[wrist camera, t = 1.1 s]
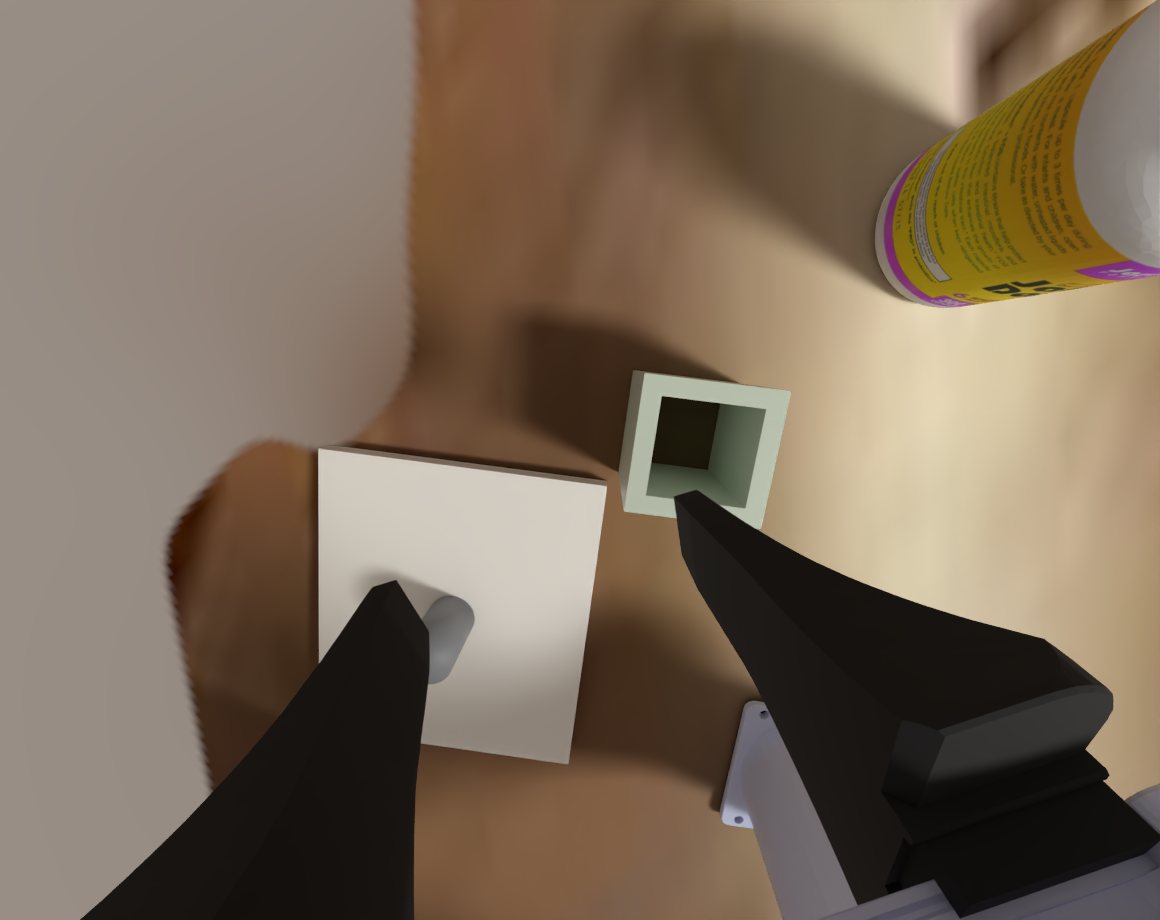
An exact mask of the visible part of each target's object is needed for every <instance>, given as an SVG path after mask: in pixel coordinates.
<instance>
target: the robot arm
mask: <svg viewBox="0 0 1160 920" xmlns="http://www.w3.org/2000/svg"><path fill="white" fill-rule="evenodd" d="M674 503H675V510H676V517H677V524H678V531H679V538H680V545H681V552H682V556H683V558H684V560H685V563H686V565H687V567H688V569H689V571H690V574H691V576H692V578H693V580H694V582H695V584H696V586H697V588H698V590H699V592H700V593H701V595H702V597H703V598H704V600H705V602H706V603H707V605H708V607H709V608H710V610H711V611H712V613H713V615H714V616H715V618H716V620H717V621H718V623H719V624H720V626H721V628H722V629H723V631H724V633H725V634H726V636H727V637H728V639H729V641H730V642H731V644H732V645H733V647H734V649H735V650H736V652H737V654H738V655H739V657H740V658H741V660H742V662H743V663H744V665H745V667H746V669H747V670H748V672H749V674H750V676H751V677H752V679H753V681H754V683H755V685H756V687H757V689H758V691H759V693H760V695H761V697H762V699H763V701H764V702H760V701H750V702H748V703H746V704H745V706H744V709H743V713H742V717H741V722H740V726H739V730H738V735H737V739H736V743H735V748H734V752H733V756H732V760H731V765H730V769H729V773H728V778H727V782H726V786H725V791H724V795H723V799H722V803H721V808H720V817H721V820H722V822H723V823H724V824H727V825H732V826H739V827H746V828H753V829H754V832H755V835H756V838H757V841H758V844H759V847H760V850H761V853H762V857H763V860H764V863H765V866H766V869H767V872H768V875H769V878H770V881H771V884H772V887H773V891H774V894H775V897H776V900H777V903H778V906H779V909H780V912H781V915H782V918H783V920H1160V784H1157V785H1154V786H1152V787H1149V788H1147V789H1144V790H1142V791H1139V792H1137V793H1136V794H1134V795H1132V796H1130V797H1129V798H1127V799H1126V800H1125V801H1124V800H1123V799H1122V798H1121V797H1120V796H1118V795H1117V794H1116V793H1115V792H1114V791H1113V790H1112V789H1111V788H1110V787H1109V786H1108V785H1107V784H1106V783H1105V782H1104V781H1103V780H1106V779H1107V778H1108V777H1109V773H1108V771H1107V769H1106V768H1105V767H1104V766H1103V765H1101V764H1100V763H1099V762H1098V761H1097V760H1096V759H1095V758H1094V757H1093V756H1092V755H1091V754H1090V753H1088V752H1087V751H1086V750H1085V749H1086V747H1087V746H1088V745H1089V743H1090V742H1091V741H1092V739H1093V738H1094V737H1095V735H1096V734H1097V733H1098V731H1099V730H1100V729H1101V727H1102V726H1103V725H1104V723H1105V722H1106V721H1107V719H1108V717H1109V715H1110V714H1111V712H1112V710H1113V694H1112V693H1111V692H1110V690H1109V689H1108V688H1107V687H1106V686H1104V685H1103V684H1102V683H1101V682H1099V681H1098V680H1097V679H1096V678H1094V677H1093V676H1092V675H1091V674H1089V673H1088V672H1087V671H1086V670H1084V669H1083V668H1082V667H1081V666H1079V665H1078V664H1077V663H1076V662H1074V661H1073V660H1072V659H1070V658H1069V657H1068V656H1066V655H1065V654H1064V653H1062V652H1061V651H1060V650H1058V649H1057V648H1056V647H1054V646H1053V645H1052V644H1050V643H1049V642H1047V641H1046V640H1045V639H1042V638H1038V637H1034V636H1031V635H1027V634H1023V633H1019V632H1015V631H1011V630H1008V629H1004V628H1000V627H996V626H992V625H988V624H985V623H981V622H977V621H973V620H970V619H966V618H963V617H959V616H956V615H953V614H950V613H947V612H943V611H940V610H937V609H934V608H931V607H927V606H924V605H921V604H918V603H915V602H913V601H910V600H907V599H904V598H901V597H898V596H896V595H893V594H890V593H888V592H885V591H882V590H880V589H877V588H874V587H872V586H869V585H867V584H864V583H862V582H859V581H857V580H854V579H852V578H849V577H847V576H845V575H843V574H840V573H838V572H836V571H834V570H832V569H829V568H827V567H825V566H823V565H821V564H819V563H816V562H814V561H812V560H810V559H808V558H806V557H805V556H803V555H801V554H799V553H797V552H795V551H793V550H791V549H790V548H788V547H786V546H784V545H782V544H781V543H779V542H777V541H775V540H774V539H772V538H770V537H768V536H767V535H765V534H764V533H762V532H760V531H759V530H757V529H755V528H754V527H752V526H751V525H749V524H747V523H746V522H744V521H743V520H741V519H740V518H738V517H736V516H735V515H733V514H732V513H730V512H729V511H727V510H726V509H724V508H723V507H722V506H720V505H719V504H717V503H716V502H714V501H713V500H711V499H710V498H709V497H707V496H706V495H704V494H703V493H701V492H700V491H698V490H693V491H690V492H687V493H683V494H680V495H677V496H674ZM429 672H430V644H429V630H428V629H427V627H426V626H425V624H424V623H423V621H422V619H421V618H420V616H419V615H418V613H417V611H416V610H415V608H414V607H413V605H412V604H411V602H410V600H409V599H408V597H407V596H406V594H405V592H404V591H403V589H402V588H401V586H400V585H399V583H398V581H397V580H394V581H390V582H387V583H384V584H381V585H377V586H374V587H372V588H371V590H370V591H369V592H368V594H367V595H366V596H365V598H364V599H363V601H362V602H361V604H360V605H359V606H358V608H357V609H356V611H355V612H354V614H353V615H352V617H351V618H350V620H349V621H348V623H347V624H346V626H345V627H344V628H343V630H342V631H341V633H340V634H339V636H338V637H337V639H336V640H335V642H334V643H333V644H332V646H331V647H330V649H329V650H328V652H327V653H326V654H325V656H324V657H323V659H322V660H321V662H320V663H319V665H318V666H317V667H316V669H315V670H314V671H313V673H312V674H311V675H310V677H309V678H308V679H307V681H306V682H305V683H304V685H303V686H302V687H301V689H300V690H299V691H298V693H297V694H296V695H295V697H294V698H293V699H292V701H291V702H290V703H289V705H288V706H287V707H286V709H285V710H284V711H283V712H282V714H281V715H280V716H279V717H278V719H277V720H276V721H275V722H274V724H273V725H272V726H271V727H270V728H269V730H268V731H267V732H266V733H265V735H264V736H263V737H262V738H261V739H260V740H259V742H258V743H257V744H256V745H255V746H254V747H253V748H252V750H251V751H250V752H249V753H248V754H247V755H246V757H245V758H244V759H243V760H242V761H241V762H240V763H239V765H238V766H237V767H236V768H235V769H234V770H233V771H232V772H231V773H230V774H229V775H228V776H227V778H226V779H225V780H224V781H223V782H222V783H221V784H220V785H219V786H218V787H217V788H216V789H215V790H214V791H213V792H212V793H211V794H210V796H209V797H208V798H207V799H206V800H205V801H204V802H203V803H202V804H201V805H200V806H199V807H198V808H197V809H196V810H195V811H194V812H193V814H192V815H191V816H190V817H189V818H188V819H187V820H186V821H185V822H184V823H183V824H182V825H181V826H180V827H179V828H178V829H177V830H176V831H175V832H174V833H173V834H172V835H171V836H170V837H169V838H168V839H167V840H166V841H165V842H164V843H163V844H162V845H161V846H160V847H158V848H157V849H156V850H155V851H154V852H153V853H152V854H151V855H150V856H149V857H148V858H147V859H146V860H145V861H144V862H143V863H142V864H141V865H140V866H139V867H138V868H136V869H135V870H134V871H133V872H132V873H131V874H130V875H129V876H128V877H127V878H126V879H125V880H124V881H123V882H122V883H121V884H119V886H117V887H116V888H115V889H114V890H113V891H112V892H111V893H110V894H109V895H108V896H106V897H105V898H104V899H103V900H102V901H101V902H100V903H99V904H97V905H96V906H95V907H94V908H93V909H92V910H91V911H89V912H88V913H87V914H86V915H85V916H84V917H83V918H82V919H80V920H414V823H415V792H416V779H417V768H418V760H419V752H420V745H421V737H422V729H423V721H424V714H425V706H426V698H427V689H428V681H429ZM762 711H766V712H765V713H762V714H761V713H760V712H762ZM737 816H739V817H737Z"/></svg>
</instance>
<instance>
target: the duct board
mask: <svg viewBox="0 0 1160 920" xmlns="http://www.w3.org/2000/svg"><path fill="white" fill-rule="evenodd" d="M606 491H607V481H604V480H597V479H589V478H581V477H574V476H566V475H558V474H551V473H543V472H535V471H528V470H520V469H512V468H504V467H497V466H489V465H481V464H474V463H466V462H458V461H451V460H443V459H435V458H428V457H420V456H412V455H404V454H397V453H389V452H381V451H374V450H366V449H358V448H351V447H343V446H335V445H328V446H325V447H322V448H319V449H318V515H319V663H320V662H321V660H322V659H323V657H324V656H325V654H326V653H327V652H328V650H329V649H330V647H331V646H332V644H333V643H334V642H335V640H336V639H337V637H338V636H339V634H340V633H341V631H342V630H343V628H344V627H345V626H346V624H347V623H348V621H349V620H350V618H351V617H352V615H353V614H354V612H355V611H356V609H357V608H358V606H359V605H360V604H361V602H362V601H363V599H364V598H365V596H366V595H367V594H368V592H369V591H370V590H371V588H372V587H374V586H377V585H381V584H384V583H387V582H390V581H394V580H397V581H398V583H399V585H400V586H401V588H402V589H403V591H404V592H405V594H406V596H407V597H408V599H409V600H410V602H411V604H412V605H413V607H414V608H415V610H416V611H417V613H418V615H419V616H420V618H421V619H422V621H423V623H424V624H425V626H426V627H427V629H428V630H429V644H430V672H429V681H428V689H427V698H426V706H425V714H424V721H423V729H422V737H421V743H423V744H429V745H436V746H443V747H450V748H457V749H464V750H471V751H478V752H485V753H492V754H499V755H506V756H513V757H520V758H527V759H534V760H541V761H548V762H555V763H562V764H568V763H569V756H570V749H571V742H572V734H573V727H574V720H575V713H576V706H577V699H578V691H579V684H580V677H581V670H582V663H583V656H584V648H585V641H586V634H587V627H588V620H589V613H590V605H591V598H592V591H593V584H594V577H595V570H596V562H597V555H598V548H599V541H600V534H601V527H602V519H603V512H604V505H605V498H606Z"/></svg>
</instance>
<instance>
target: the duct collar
mask: <svg viewBox="0 0 1160 920" xmlns="http://www.w3.org/2000/svg"><path fill="white" fill-rule="evenodd" d="M790 395H791V391H787V390H781V389H774V388H768V387H761V386H754V385H748V384H741V383H734V382H726V381H718V380H710V379H702V378H694V377H686V376H678V375H670V374H662V373H654V372H646V371H638V370H633V374H632V381H631V388H630V395H629V402H628V409H627V416H626V423H625V430H624V436H623V443H622V450H621V457H620V464H619V471H618V474H619V481H620V487H621V494H622V501H623V508H624V511H625V512H633V513H640V514H648V515H656V516H663V517H671V518H677V517H676V510H675V503H674V496H677V495H680V494H683V493H687V492H690V491H693V490H698V491H700V492H701V493H703V494H704V495H706V496H707V497H709V498H710V499H711V500H713V501H714V502H716V503H717V504H719V505H720V506H722V507H723V508H724V509H726V510H727V511H729V512H730V513H732V514H733V515H735V516H736V517H738V518H740V519H741V520H743V521H744V522H746V523H747V524H749V525H751V526H752V527H754V528H755V529H761V527H762V523H763V518H764V513H765V509H766V504H767V500H768V495H769V491H770V486H771V482H772V477H773V473H774V468H775V463H776V459H777V454H778V450H779V445H780V441H781V436H782V432H783V427H784V423H785V418H786V413H787V409H788V404H789V400H790ZM662 396H666V397H674V398H682V399H690V400H698V401H706V402H714V403H720V407H719V413H718V418H717V423H716V429H715V434H714V439H713V445H712V450H711V455H710V461H709V466H708V470H705V469H697V468H689V467H681V466H674V465H666V464H658V463H651V461H652V454H653V448H654V442H655V436H656V429H657V423H658V417H659V411H660V404H661V398H662Z"/></svg>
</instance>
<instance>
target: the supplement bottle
mask: <svg viewBox="0 0 1160 920" xmlns="http://www.w3.org/2000/svg"><path fill="white" fill-rule="evenodd" d="M875 249H876V254H877V258H878V262H879V264H880V267H881V269H882V271H883V273H884V275H885V277H886V278H887V280H888V281H889V282H890V284H891V285H892V286H893V287H894V288H895V289H896V290H897V291H898V292H899V293H900V294H902V295H903V296H905V297H906V298H908V299H910V300H912V301H914V302H916V303H919V304H922V305H925V306H930V307H937V308H953V307H961V306H969V305H976V304H982V303H989V302H995V301H1001V300H1008V299H1014V298H1020V297H1027V296H1035V295H1040V294H1047V293H1052V292H1059V291H1065V290H1072V289H1079V288H1083V287H1090V286H1095V285H1102V284H1108V283H1114V282H1120V281H1126V280H1133V279H1139V278H1145V277H1151V276H1157V275H1160V0H1157V1H1155V2H1154V3H1152V4H1151V5H1149V6H1147V7H1146V8H1144V9H1143V10H1141V11H1140V12H1138V13H1137V14H1135V15H1134V16H1132V17H1131V18H1129V19H1128V20H1126V21H1125V22H1123V23H1121V24H1120V25H1118V26H1117V27H1115V28H1114V29H1112V30H1111V31H1109V32H1108V33H1106V34H1105V35H1103V36H1102V37H1100V38H1098V39H1097V40H1095V41H1094V42H1092V43H1091V44H1089V45H1088V46H1086V47H1085V48H1083V49H1082V50H1080V51H1078V52H1077V53H1075V54H1074V55H1072V56H1071V57H1069V58H1068V59H1066V60H1065V61H1063V62H1061V63H1060V64H1058V65H1057V66H1055V67H1054V68H1052V69H1051V70H1049V71H1048V72H1046V73H1044V74H1043V75H1041V76H1040V77H1038V78H1037V79H1035V80H1034V81H1032V82H1030V83H1029V84H1027V85H1026V86H1024V87H1023V88H1021V89H1020V90H1018V91H1017V92H1015V93H1013V94H1012V95H1010V96H1009V97H1007V98H1006V99H1004V100H1003V101H1001V102H999V103H998V104H996V105H995V106H993V107H992V108H990V109H989V110H987V111H985V112H984V113H982V114H981V115H979V116H978V117H976V118H975V119H973V120H972V121H970V122H968V123H967V124H965V125H964V126H962V127H961V128H959V129H958V130H956V131H954V132H953V133H951V134H950V135H948V136H947V137H945V138H944V139H942V140H941V141H939V142H938V143H936V144H935V145H933V146H932V147H930V148H929V149H927V150H926V151H924V152H923V153H921V154H920V155H919V156H917V157H916V158H915V159H914V160H913V161H912V162H911V163H910V164H908V165H907V166H906V167H905V168H904V170H903V171H902V172H901V173H900V174H899V175H898V177H897V178H896V179H895V181H894V182H893V184H892V185H891V187H890V188H889V190H888V192H887V194H886V196H885V198H884V200H883V202H882V205H881V207H880V210H879V213H878V217H877V222H876V229H875Z"/></svg>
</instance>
